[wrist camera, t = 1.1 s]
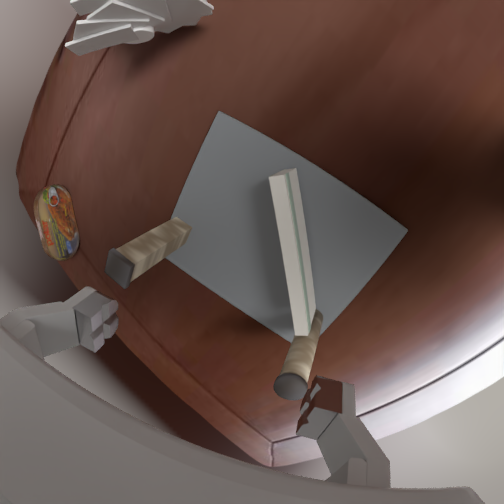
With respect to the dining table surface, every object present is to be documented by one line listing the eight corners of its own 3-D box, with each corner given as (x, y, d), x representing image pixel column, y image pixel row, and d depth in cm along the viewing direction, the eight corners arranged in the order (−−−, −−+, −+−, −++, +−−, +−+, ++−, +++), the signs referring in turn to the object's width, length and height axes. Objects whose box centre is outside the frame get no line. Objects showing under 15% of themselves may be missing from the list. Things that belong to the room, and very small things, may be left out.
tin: (83, 251, 55) (53, 268, 47) (75, 250, 56) (46, 266, 48) (68, 179, 49) (35, 190, 42) (60, 181, 50) (28, 191, 43)
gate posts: (329, 314, 41) (312, 389, 29) (315, 329, 43) (294, 404, 30) (177, 213, 43) (109, 249, 31) (170, 232, 45) (104, 272, 32)
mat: (407, 229, 34) (408, 230, 33) (305, 349, 45) (304, 351, 45) (220, 111, 36) (218, 111, 35) (159, 251, 47) (157, 252, 47)
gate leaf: (316, 307, 41) (308, 335, 35) (304, 307, 41) (294, 335, 36) (297, 167, 35) (284, 174, 29) (282, 169, 35) (267, 177, 30)
